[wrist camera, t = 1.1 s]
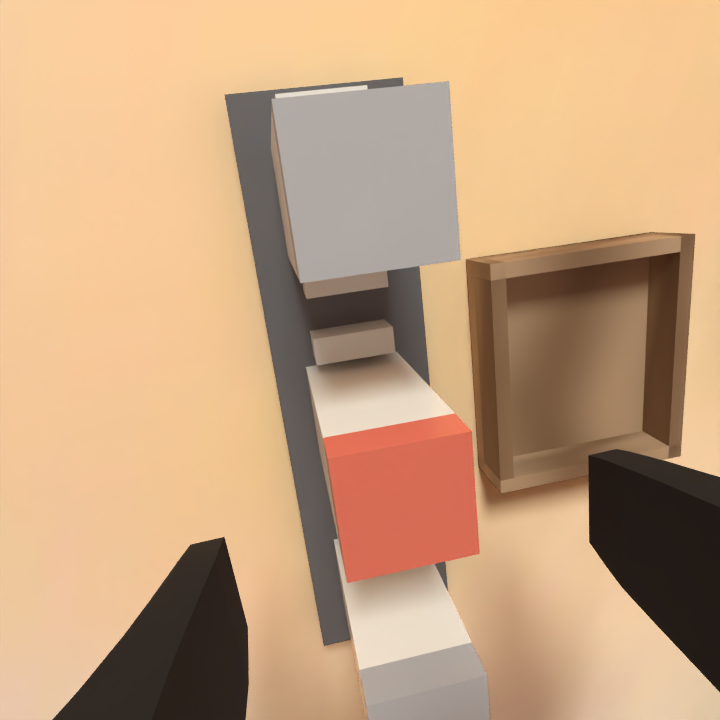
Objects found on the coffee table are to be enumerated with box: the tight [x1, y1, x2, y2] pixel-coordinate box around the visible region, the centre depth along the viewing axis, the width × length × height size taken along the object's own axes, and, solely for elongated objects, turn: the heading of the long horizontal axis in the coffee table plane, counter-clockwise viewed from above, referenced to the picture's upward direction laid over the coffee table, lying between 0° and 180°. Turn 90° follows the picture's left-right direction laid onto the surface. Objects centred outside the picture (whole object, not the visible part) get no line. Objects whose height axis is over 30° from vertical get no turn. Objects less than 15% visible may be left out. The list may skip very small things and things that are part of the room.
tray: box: [466, 232, 695, 493], centre depth 18 cm, size 7×8×2 cm
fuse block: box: [225, 78, 448, 646], centre depth 17 cm, size 5×19×2 cm, turn 8°
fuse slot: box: [334, 539, 490, 720], centre depth 16 cm, size 3×3×6 cm
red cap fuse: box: [306, 352, 479, 583], centre depth 14 cm, size 3×3×6 cm
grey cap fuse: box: [271, 81, 461, 283], centre depth 12 cm, size 3×3×6 cm
